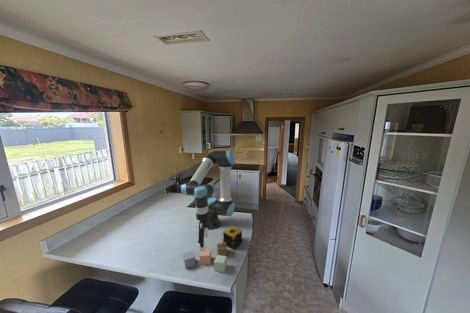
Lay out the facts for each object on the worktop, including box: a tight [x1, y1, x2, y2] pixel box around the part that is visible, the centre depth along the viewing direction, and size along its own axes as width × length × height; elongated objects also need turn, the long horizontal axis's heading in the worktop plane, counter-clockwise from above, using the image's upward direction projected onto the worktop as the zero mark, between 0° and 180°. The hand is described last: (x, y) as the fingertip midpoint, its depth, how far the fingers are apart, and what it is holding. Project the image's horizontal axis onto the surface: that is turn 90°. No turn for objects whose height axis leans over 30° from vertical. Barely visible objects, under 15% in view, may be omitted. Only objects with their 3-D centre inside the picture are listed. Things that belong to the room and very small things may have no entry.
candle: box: [222, 225, 243, 250], centre depth 129 cm, size 10×10×10 cm
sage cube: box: [213, 254, 228, 273], centre depth 107 cm, size 6×6×6 cm
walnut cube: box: [216, 242, 228, 257], centre depth 119 cm, size 6×6×6 cm
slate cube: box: [182, 250, 196, 270], centre depth 112 cm, size 6×6×6 cm
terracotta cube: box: [199, 248, 212, 266], centre depth 113 cm, size 6×6×6 cm
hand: (204, 243), depth 112 cm, fingers open, 13 cm apart
